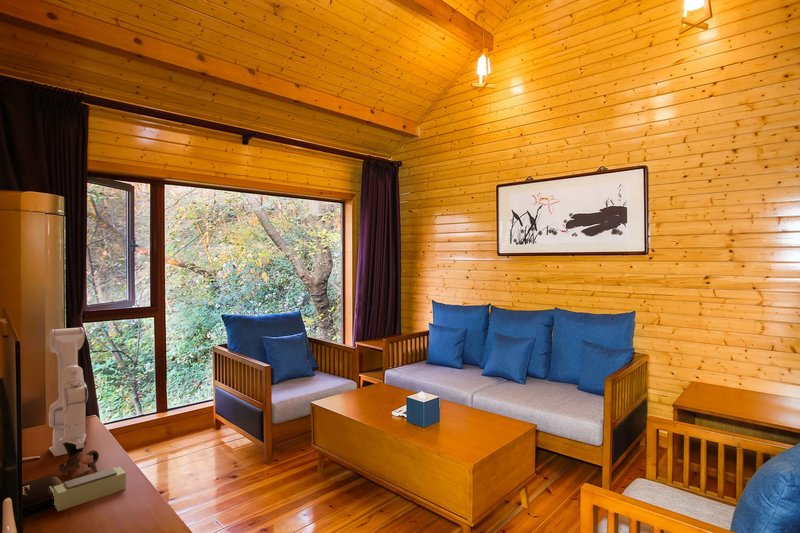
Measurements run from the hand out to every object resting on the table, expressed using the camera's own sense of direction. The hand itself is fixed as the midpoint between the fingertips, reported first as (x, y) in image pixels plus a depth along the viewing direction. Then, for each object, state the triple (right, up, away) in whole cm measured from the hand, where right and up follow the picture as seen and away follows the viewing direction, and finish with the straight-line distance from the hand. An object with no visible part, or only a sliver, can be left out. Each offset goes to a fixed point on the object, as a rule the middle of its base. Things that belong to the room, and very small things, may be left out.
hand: (74, 463), depth 148 cm
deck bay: (+15, -2, -15) cm, 21 cm away
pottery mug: (+5, -2, -4) cm, 7 cm away
